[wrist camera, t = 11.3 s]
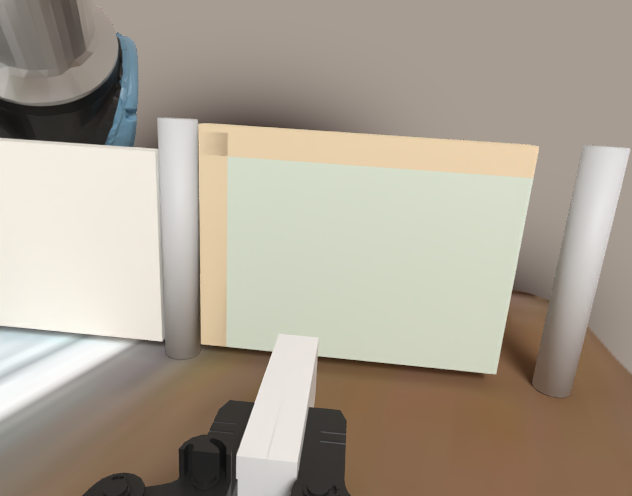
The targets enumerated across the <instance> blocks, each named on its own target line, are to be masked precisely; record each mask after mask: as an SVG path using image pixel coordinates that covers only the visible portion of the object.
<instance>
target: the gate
mask: <svg viewBox="0 0 632 496" xmlns="http://www.w3.org/2000/svg"><path fill="white" fill-rule="evenodd" d="M198 125H199V213H200V302H201V344H204V345H214V346H224V347H234V348H244V349H253V350H263V351H273V349H274V346H275V343H276V341H277V338H278V335H279V334H287V335H298V336H309V337H319V343H318V356H322V357H332V358H341V359H351V360H361V361H371V362H380V363H390V364H400V365H410V366H420V367H429V368H439V369H449V370H459V371H468V372H478V373H488V374H496V372H497V367H498V361H499V356H500V351H501V346H502V340H503V335H504V330H505V325H506V319H507V314H508V309H509V303H510V298H511V293H512V288H513V282H514V277H515V272H516V267H517V261H518V255H519V250H520V245H521V240H522V235H523V229H524V223H525V219H526V214H527V209H528V203H529V198H530V192H531V187H532V182H533V177H534V171H535V166H536V161H537V156H538V151H539V147H538V146H534V145H527V144H511V143H495V142H480V141H466V140H450V139H436V138H421V137H405V136H391V135H374V134H360V133H344V132H330V131H314V130H300V129H285V128H270V127H254V126H240V125H224V124H210V123H205V124H198Z"/></svg>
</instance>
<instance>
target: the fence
mask: <svg viewBox="0 0 632 496" xmlns="http://www.w3.org/2000/svg"><path fill="white" fill-rule="evenodd" d="M157 120H158V149H151V148H138V147H123V146H109V145H95V144H80V143H66V142H52V141H38V140H23V139H9V138H0V326H10V327H20V328H30V329H41V330H51V331H61V332H71V333H81V334H91V335H101V336H112V337H122V338H132V339H142V340H152V341H163V340H164V339H165V349H166V355H167V356H168V357H170V358H173V359H189V358H192V357H195V356H196V355H198V354H199V353H200V350H201V347H200V213H199V180H198V179H199V176H198V120H196V119H187V118H186V119H185V118H158V119H157ZM629 152H630V149H629V148H621V147H612V146H599V145H583V148H582V152H581V157H580V162H579V166H578V171H577V176H576V180H575V185H574V190H573V194H572V199H571V203H570V208H569V213H568V217H567V222H566V227H565V231H564V236H563V241H562V245H561V250H560V255H559V260H558V264H557V268H556V273H555V278H554V282H553V288H552V292H551V296H550V301H549V306H548V310H547V315H546V320H545V324H544V329H543V333H542V338H541V343H540V347H539V352H538V357H537V361H536V366H535V371H534V375H533V380H532V385H533V386H534V388H535V389H537V390H538V391H539V392H541V393H543V394H545V395H548V396H551V397H556V398H566V397H568V396H570V394H571V391H572V387H573V382H574V378H575V374H576V370H577V366H578V362H579V358H580V354H581V350H582V346H583V341H584V337H585V333H586V329H587V325H588V321H589V317H590V313H591V309H592V305H593V300H594V296H595V292H596V288H597V284H598V280H599V276H600V272H601V268H602V263H603V259H604V255H605V251H606V247H607V243H608V239H609V235H610V231H611V227H612V222H613V218H614V214H615V210H616V206H617V202H618V198H619V194H620V190H621V185H622V181H623V177H624V173H625V169H626V165H627V161H628V157H629Z"/></svg>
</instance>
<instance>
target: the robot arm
mask: <svg viewBox="0 0 632 496" xmlns="http://www.w3.org/2000/svg"><path fill="white" fill-rule="evenodd" d="M137 104H138V56H137V48H136V45H135V43H134V41H133V40H131V39H130V38H128V37H126V36H122V35H121V34H119V33H115V30H114V27H113V24H112V22H111V21H110V19H109V18H108V16H107V15H106V14H105V12H104V11H103V10H102V9H101V8H100V7H99V6H98V5H97V4H96V3H95V2H94V1H92V0H0V138H9V139H23V140H38V141H52V142H66V143H80V144H95V145H109V146H123V147H134V142H135V135H136V125H137V114H136V111H137ZM318 343H319V337H309V336H298V335H287V334H279V335H278V338H277V341H276V343H275V346H274V349H273V352H272V355H271V358H270V361H269V363H268V366H267V369H266V372H265V375H264V378H263V381H262V384H261V386H260V389H259V392H258V395H257V398H256V401H255V403H253V402H243V401H233V400H230V401H228V402H227V403H226V404H225V405H224V406H223V407H221V408H220V409H219V411H218V413H217V415H216V417H215V419H214V423H213V424H212V426H211V428H210V432H209V433H208V435H200V436H196V437H193V438H191V439H189V440H188V441H186V442H184V443H183V445H182V446H181V447H180V448H179V475H180V477H179V479H178V480H176V481H173V482H171V483H167V484H163V485H156V486H150V487H145V484H144V483H143V481H142V479H141V478H140V477H138V476H136V475H135V474H130V473H119V474H113V475H110V476H108V477H105V478H103V479H101V480H100V481H98V482H97V483H96V484H94V485H93V486H92V487H91V488H90V489H89V490H88V491H87V492H86V493H85V494H84V495H83V496H351V495H350V494H349V493H348V491H347V489H346V487H345V481H344V475H345V448H346V422H347V421H346V419H345V418H344V416H343V414H342V412H341V411H340V410H333V409H323V408H314V402H315V388H316V373H317V358H318Z"/></svg>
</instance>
